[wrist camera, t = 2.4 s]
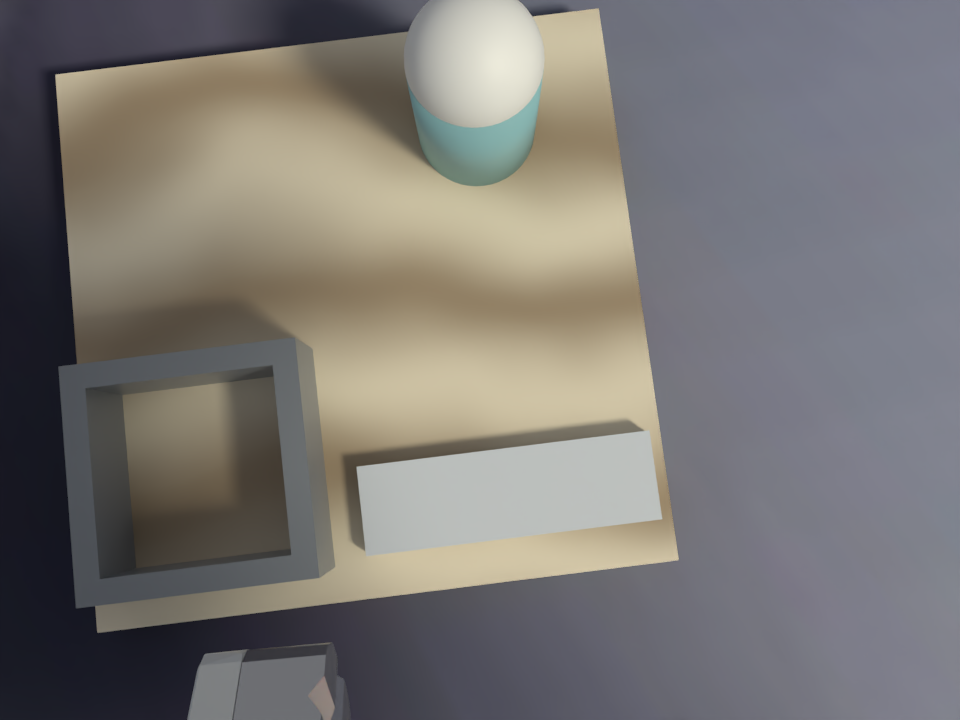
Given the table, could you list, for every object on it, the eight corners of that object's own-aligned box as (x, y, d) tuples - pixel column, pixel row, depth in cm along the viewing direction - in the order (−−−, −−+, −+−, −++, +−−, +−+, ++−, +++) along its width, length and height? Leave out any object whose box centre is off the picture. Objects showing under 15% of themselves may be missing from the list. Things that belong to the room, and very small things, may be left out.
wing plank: (645, 431, 32) (649, 430, 31) (657, 517, 32) (662, 519, 31) (359, 466, 32) (356, 466, 31) (369, 553, 32) (366, 556, 31)
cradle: (335, 567, 32) (319, 578, 29) (114, 594, 32) (75, 608, 29) (312, 348, 32) (295, 337, 29) (97, 375, 32) (58, 366, 29)
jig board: (669, 555, 33) (678, 560, 31) (114, 625, 33) (97, 633, 31) (593, 27, 35) (598, 8, 34) (73, 91, 35) (55, 74, 34)
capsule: (541, 178, 33) (558, 90, 25) (425, 192, 33) (406, 108, 25) (526, 67, 33) (538, -54, 26) (412, 81, 33) (388, -36, 26)
